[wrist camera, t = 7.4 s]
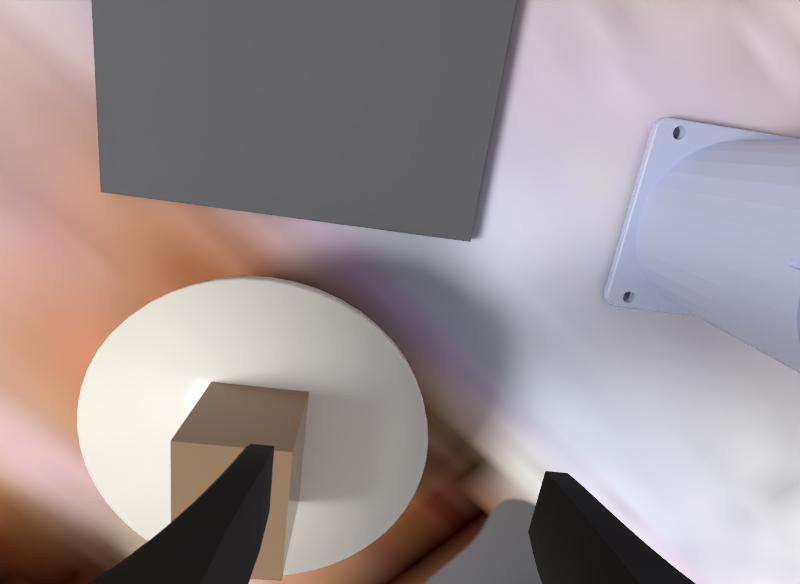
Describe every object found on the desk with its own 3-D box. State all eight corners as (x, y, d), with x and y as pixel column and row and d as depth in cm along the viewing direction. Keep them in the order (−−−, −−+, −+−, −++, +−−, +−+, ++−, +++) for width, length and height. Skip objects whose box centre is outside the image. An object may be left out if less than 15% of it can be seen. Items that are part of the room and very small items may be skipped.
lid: (452, 299, 17) (475, 346, 13) (401, 574, 21) (407, 673, 17) (75, 253, 16) (-23, 290, 12) (96, 552, 20) (27, 653, 16)
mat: (543, -158, 16) (548, -167, 16) (468, 239, 20) (470, 241, 20) (88, -255, 15) (78, -268, 14) (107, 190, 19) (100, 192, 19)
